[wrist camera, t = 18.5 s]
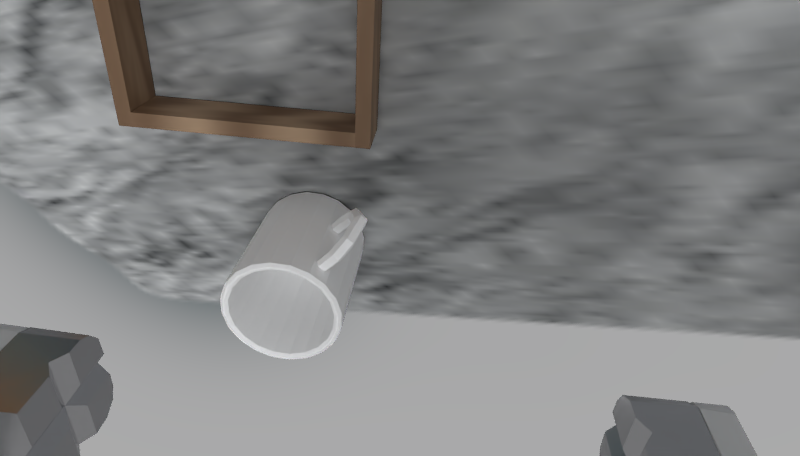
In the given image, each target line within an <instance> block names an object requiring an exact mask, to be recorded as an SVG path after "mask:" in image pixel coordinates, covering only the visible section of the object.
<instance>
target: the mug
mask: <svg viewBox="0 0 800 456" xmlns="http://www.w3.org/2000/svg"><path fill="white" fill-rule="evenodd" d="M366 223H367V218H366V217H365V216H364V214H363V213H362V212H361V211H360V210H358V209H357V208H354V209H353V210H349V209H348V208H347V207H346V206H344V205H343V204H342V203H341V202H339V201H338V200H336V199H333V198H331V197H329V196H326V195H324V194H318V193H311V192H304V193H297V194H291V195H289V196H287V197H285V198H283V199H281V200H279V201H278V202H277V203H276V204H275V205H274V206H273V207H272V208H271V209H270V210H269V211H268V213H267V215H266V216H265V218H264V220H263V221H262V223H261V225H260V226H259V228H258V230H257V231H256V233H255V235H254V236H253V238H252V240H251V241H250V243H249V245H248V246H247V248H246V249H245V251H244V253H243V254H242V256H241V258H240V259H239V261H238V263H237V264H236V266H235V268H234V269H233V271H232V273H231V274H230V276H229V278H228V279H227V281H226V283H225V285H224V288H223V291H222V293H221V296H220V302H221V313H222V315H223V316H224V319H225V321H226V323H227V325H228V327H229V328H230V329H231V331H232V332H233V333H234V334H235V335H236V336H237V337H238V338H239V339H240V340H241V341H242V342H244V343H245V344H247V345H248V346H250V347H251V348H253V349H254V350H256V351H258V352H261V353H264V354H266V355H269V356H272V357H277V358H284V359H301V358H309V357H311V356H314V355H317V354H319V353H322V352H323V351H325V350H326V349H327V348H328V347H330V346H331V345H332V344H333V343H334V342H335V341H336V339H337V337H338V335H339V333H340V331H341V328H342V325H343V321H344V317H345V314H346V310H347V307H348V303H349V300H350V296H351V292H352V289H353V285H354V282H355V278H356V274H357V271H358V267H359V264H360V260H361V256H362V253H363V245H364V236H363V232H362V231H363V229H364V227H365V225H366Z"/></svg>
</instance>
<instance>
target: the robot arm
mask: <svg viewBox="0 0 800 456" xmlns="http://www.w3.org/2000/svg"><path fill="white" fill-rule="evenodd" d="M103 354H104V353H103V350H102V347H101V345H100V342H99V339H98V338H96V337H92V336H89V335H82V334H75V333H67V332H60V331H53V330H46V329H38V328H31V327H30V328H27V327H20V326H13V325H6V324H0V456H80V449H79V444H80V443H82V442H83V441H85V440H86V439H88V438H90V437H91V436H93V435H95V434H96V433H97V432H98V431H99V429H100V427H101V426H102V424H103V423H104V421H105V420H106V418H107V416H108V413H109V409H110V406H111V403H112V400H113V384H112V380H111V376H110V374H109V373H108V372H107V371H106V370H105V369H104V368H103V367H102V366H101V365H99V364H98V361H99V360H100V358H101V357H102V356H103ZM613 415H614V419H615V423H616V426H614V427H612V428H611V429H609V430H607V431H606V432H605V434H604V437H603V440H602V443H601V447H600V456H757V454H756V452H755V450H754V448H753V447H752V445H751V443H750V441H749V439H748V437H747V435H746V433H745V431H744V430H743V428H742V426H741V424H740V422H739V420H738V418H737V416H736V414H735V413H734V411H733V410H731V409H730V408H729V407H728V406H723V405H713V404H704V403H694V402H692V403H689V402H686V401H676V400H665V399H656V398H646V397H636V396H626V395H622V396H621V397H620V398H619V399H618V400H617V402H616V405H615V407H614V410H613Z"/></svg>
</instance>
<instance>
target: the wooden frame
mask: <svg viewBox="0 0 800 456" xmlns="http://www.w3.org/2000/svg"><path fill="white" fill-rule="evenodd" d="M92 2H93V6H94V11H95V16H96V20H97V25H98V30H99V34H100V39H101V43H102V48H103V53H104V57H105V62H106V67H107V71H108V76H109V81H110V85H111V90H112V95H113V99H114V104H115V108H116V113H117V118H118V122H119V125H120V126H131V127H142V128H152V129H163V130H174V131H184V132H195V133H206V134H216V135H227V136H238V137H248V138H259V139H270V140H280V141H291V142H302V143H312V144H323V145H334V146H344V147H355V148H366V149H370V148H371V145H372V142H373V139H374V136H375V134H376V131H377V119H378V93H379V67H380V41H381V15H382V0H357V54H356V112H355V114H352V113H340V112H329V111H318V110H307V109H296V108H285V107H274V106H263V105H252V104H241V103H230V102H219V101H208V100H197V99H186V98H175V97H164V96H155V90H154V84H153V79H152V73H151V67H150V61H149V56H148V50H147V44H146V38H145V33H144V27H143V21H142V15H141V10H140V4H139V0H92Z"/></svg>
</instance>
